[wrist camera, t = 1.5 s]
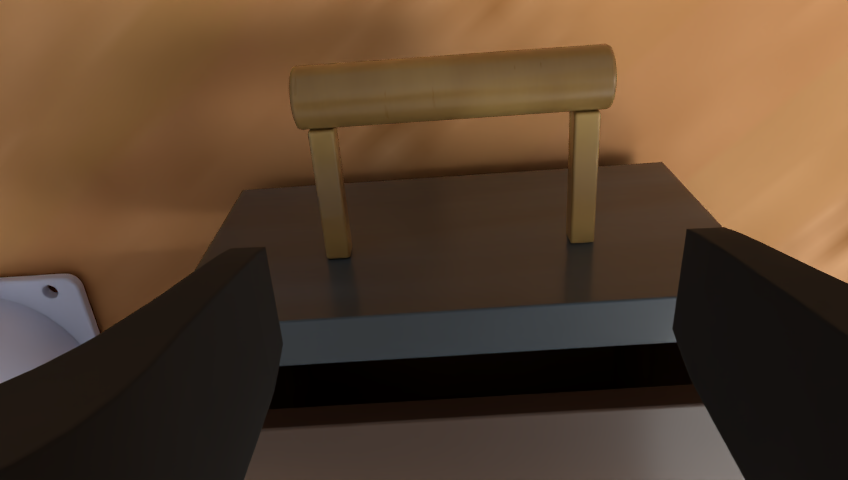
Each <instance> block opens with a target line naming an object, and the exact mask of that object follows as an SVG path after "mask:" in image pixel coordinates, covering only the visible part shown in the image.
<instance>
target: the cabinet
mask: <svg viewBox="0 0 848 480" xmlns="http://www.w3.org/2000/svg"><path fill="white" fill-rule="evenodd" d="M244 480H745V479H744V477H743V475H742V473H741V471H740V470H739V468H738V466H737V464H736V462H735V460H734V459H733V457H732V455H731V453H730V451H729V449H728V448H727V446H726V444H725V442H724V440H723V439H722V437H721V435H720V433H719V431H718V429H717V428H716V426H715V424H714V422H713V420H712V419H711V417H710V415H709V413H708V411H707V409H706V407H705V406H704V404H703V402H702V400H701V398H700V396H699V394H698V392H697V391H696V389H695V387H694V385H693V384H692V385H675V386H658V387H641V388H624V389H607V390H590V391H573V392H556V393H539V394H522V395H505V396H488V397H471V398H454V399H437V400H420V401H403V402H386V403H369V404H352V405H335V406H318V407H301V408H284V409H268V412H267V415H266V418H265V421H264V424H263V427H262V430H261V432H260V435H259V438H258V441H257V444H256V447H255V450H254V452H253V455H252V458H251V461H250V464H249V467H248V470H247V472H246V475H245V478H244Z"/></svg>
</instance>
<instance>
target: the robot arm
mask: <svg viewBox="0 0 848 480" xmlns="http://www.w3.org/2000/svg"><path fill="white" fill-rule="evenodd" d="M48 285H50V286H53V287H54V288H56V290H57V291H58V292H53V291H52V290H50V288H49V287H48ZM672 330H673V333H674V336H675V338H676V341H677V344H678V347H679V350H680V353H681V356H682V359H683V361H684V364H685V367H686V369H687V372H688V374H689V377H690V379H691V381H692V383H693V385H694V387H695V389H696V391H697V392H698V394H699V396H700V398H701V400H702V402H703V404H704V406H705V407H706V409H707V411H708V413H709V415H710V417H711V419H712V420H713V422H714V424H715V426H716V428H717V429H718V431H719V433H720V435H721V437H722V439H723V440H724V442H725V444H726V446H727V448H728V449H729V451H730V453H731V455H732V457H733V459H734V460H735V462H736V464H737V466H738V468H739V470H740V471H741V473H742V475H743V477H744V479H745V480H848V283H845V282H843V281H841V280H839V279H837V278H834V277H832V276H830V275H828V274H826V273H824V272H822V271H819V270H817V269H815V268H813V267H811V266H809V265H807V264H805V263H803V262H801V261H798V260H796V259H794V258H792V257H790V256H788V255H786V254H784V253H782V252H780V251H778V250H776V249H774V248H772V247H769V246H767V245H765V244H763V243H761V242H759V241H757V240H754V239H752V238H750V237H748V236H746V235H743V234H741V233H738V232H736V231H733V230H730V229H727V228H724V227H717V228H693V229H687V230H686V237H685V244H684V251H683V258H682V265H681V272H680V278H679V285H678V292H677V299H676V306H675V313H674V320H673V327H672ZM282 347H283V340H282V335H281V329H280V324H279V318H278V313H277V307H276V302H275V296H274V291H273V286H272V280H271V275H270V269H269V264H268V258H267V253H266V247H248V248H230V249H228V250H226V251H225V252H223V253H221V254H219V255H218V256H216V257H215V258H213V259H212V260H210V261H209V262H207V263H206V264H204V265H203V266H201V267H200V268H199V269H197V270H196V271H194V272H193V273H191V274H190V275H189V276H187V277H186V278H184V279H183V280H181V281H180V282H179V283H177V284H176V285H174V286H173V287H171V288H170V289H169V290H167V291H166V292H164V293H163V294H161V295H160V296H159V297H157V298H156V299H154V300H153V301H151V302H150V303H148V304H146V305H145V306H143V307H142V308H140V309H139V310H137V311H135V312H134V313H132V314H131V315H129V316H128V317H126V318H124V319H123V320H121V321H120V322H118V323H117V324H115V325H113V326H112V327H110V328H109V329H107V330H106V331H104V332H102V333H100V332H99V329H98V326H97V323H96V320H95V317H94V314H93V312H92V309H91V306H90V303H89V300H88V297H87V294H86V291H85V289H84V286H83V284H82V282H81V280H80V279H78V278H77V277H76V276H74V275H72V274H66V273H63V274H47V275H32V276H16V277H0V480H244V478H245V475H246V472H247V470H248V467H249V464H250V461H251V458H252V455H253V452H254V450H255V447H256V444H257V441H258V438H259V435H260V432H261V430H262V427H263V424H264V421H265V418H266V415H267V412H268V409H269V406H270V403H271V400H272V397H273V394H274V390H275V385H276V380H277V375H278V370H279V365H280V359H281V353H282Z"/></svg>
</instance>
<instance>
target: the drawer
mask: <svg viewBox="0 0 848 480" xmlns="http://www.w3.org/2000/svg"><path fill="white" fill-rule="evenodd" d="M616 82H617V71H616V61H615V56H614V53H613V50H612V48H611V46H610V45H607V44H599V45H585V46H570V47H556V48H542V49H528V50H514V51H500V52H486V53H472V54H458V55H444V56H430V57H415V58H401V59H387V60H373V61H359V62H345V63H331V64H317V65H303V66H294V67H293V68H292V69H291V72H290V77H289V94H290V103H291V109H292V114H293V118H294V121H295V123H296V125H297V127H298V128H299V129H302V130H306V129H310V130H309V132H308V138H309V144H310V151H311V157H312V164H313V171H314V177H315V184H316V185H313V186H298V187H283V188H268V189H253V190H243V191H242V192H241V194H240V196H239V197H238V199H237V201H236V202H235V204H234V206H233V207H232V209H231V211H230V212H229V214H228V216H227V217H226V219H225V221H224V222H223V224H222V226H221V227H220V229H219V231H218V232H217V234H216V236H215V237H214V239H213V241H212V242H211V244H210V246H209V247H208V249H207V251H206V252H205V254H204V256H203V257H202V259H201V261H200V262H199V264H198V266H197V267H196V269H195V271H196V270H197V269H199V268H200V267H201V266H203V265H204V264H206V263H207V262H209V261H210V260H212V259H213V258H215V257H216V256H218V255H219V254H221V253H223V252H225V251H226V250H228V249H230V248H248V247H266V253H267V258H268V264H269V269H270V275H271V280H272V286H273V291H274V296H275V302H276V307H277V313H278V318H279V324H280V329H281V335H282V340H283V347H282V353H281V359H280V365H279V370H278V375H277V380H276V385H275V390H274V394H273V397H272V400H271V403H270V406H269V409H284V408H301V407H318V406H335V405H352V404H369V403H386V402H403V401H420V400H437V399H454V398H471V397H488V396H505V395H522V394H539V393H556V392H573V391H590V390H607V389H624V388H641V387H658V386H675V385H692V384H693V383H692V381H691V379H690V377H689V374H688V372H687V369H686V367H685V364H684V361H683V359H682V356H681V353H680V350H679V347H678V344H677V341H676V338H675V336H674V333H673V330H672V327H673V320H674V313H675V306H676V299H677V292H678V285H679V278H680V272H681V265H682V258H683V251H684V244H685V237H686V230H687V229H693V228H717V227H722V226H721V225H720V224H719V223H718V222H717V221H716V220H715V218H714V217H713V216H712V215H711V214H710V213H709V212H708V211H707V210H706V209H705V208H704V207H703V206H702V204H701V203H700V202H699V201H698V200H697V199H696V198H695V197H694V196H693V195H692V194H691V193H690V192H689V190H688V189H687V188H686V187H685V186H684V185H683V184H682V183H681V182H680V181H679V180H678V179H677V177H676V176H675V175H674V174H673V173H672V172H671V171H670V170H669V169H668V168H667V167H666V166H665V165H664V163H662V162H658V163H643V164H628V165H613V166H598V157H599V139H600V120H601V113H600V111H599V110H598V109H607V108H609V107H610V106H611V105H612V103H613V100H614V97H615V92H616ZM568 111H570V122H569V154H568V169H553V170H538V171H523V172H508V173H493V174H478V175H463V176H448V177H433V178H418V179H403V180H388V181H373V182H358V183H344V180H343V172H342V164H341V157H340V149H339V142H338V134H337V127H349V126H364V125H378V124H393V123H408V122H422V121H437V120H451V119H466V118H480V117H495V116H510V115H524V114H539V113H553V112H568Z"/></svg>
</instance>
